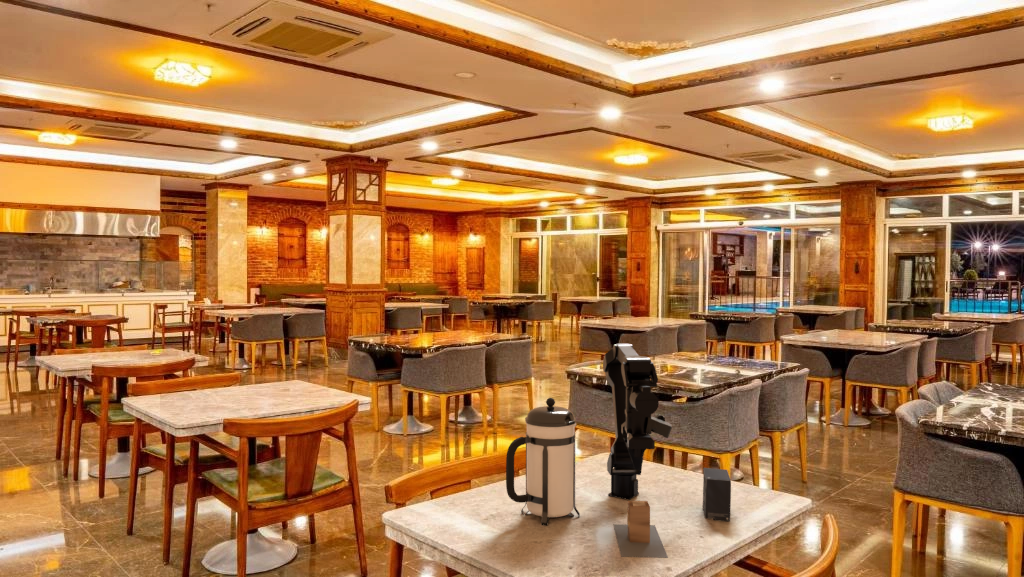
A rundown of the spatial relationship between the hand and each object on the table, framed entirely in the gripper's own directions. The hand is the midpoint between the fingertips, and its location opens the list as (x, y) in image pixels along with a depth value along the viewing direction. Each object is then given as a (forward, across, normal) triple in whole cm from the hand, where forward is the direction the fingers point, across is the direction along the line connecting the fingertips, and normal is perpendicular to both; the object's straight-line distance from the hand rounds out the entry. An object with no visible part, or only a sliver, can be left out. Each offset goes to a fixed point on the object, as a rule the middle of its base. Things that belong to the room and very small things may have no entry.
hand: (637, 468), depth 179 cm
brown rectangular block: (+12, -17, +2) cm, 20 cm away
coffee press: (+12, -2, +23) cm, 26 cm away
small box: (+12, +3, -20) cm, 24 cm away
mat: (+12, -17, +2) cm, 21 cm away
